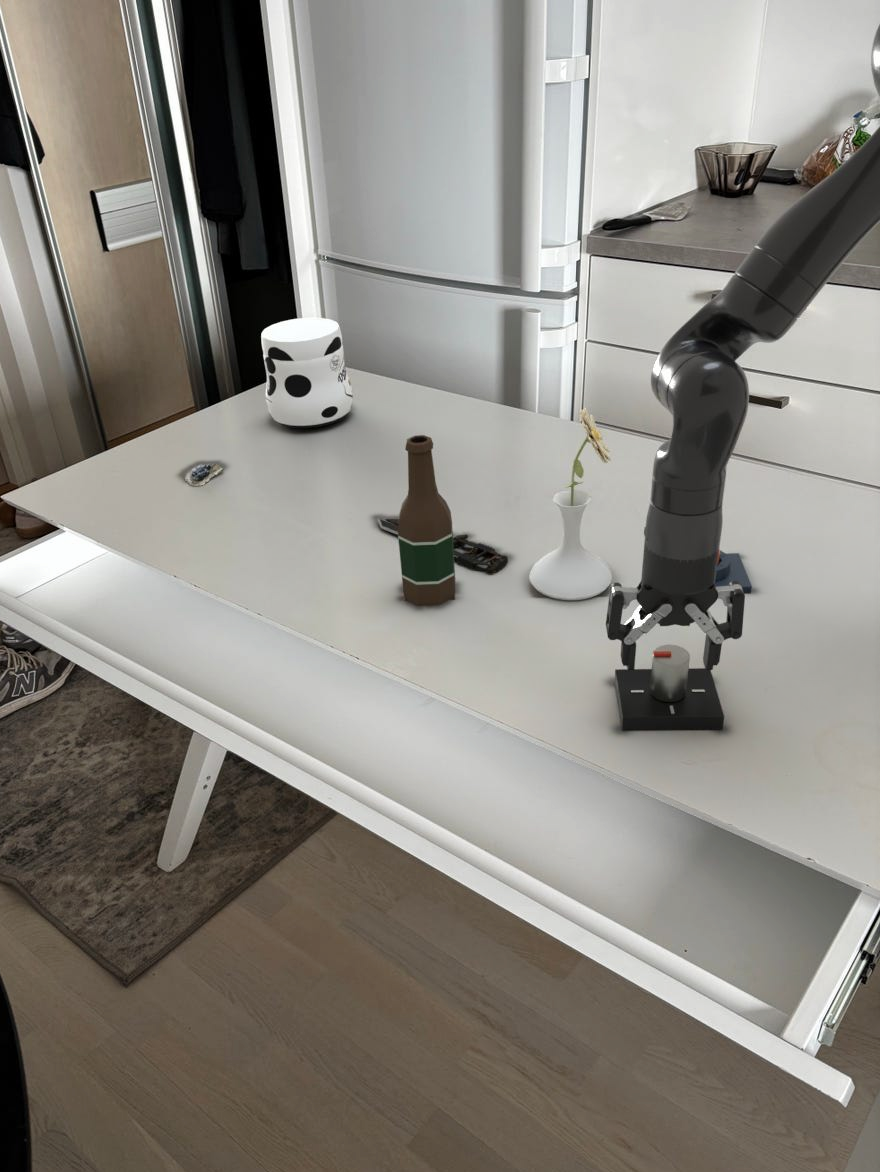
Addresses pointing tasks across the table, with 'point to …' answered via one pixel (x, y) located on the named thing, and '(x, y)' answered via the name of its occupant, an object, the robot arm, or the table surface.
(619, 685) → the hob panel
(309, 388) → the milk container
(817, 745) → the table surface
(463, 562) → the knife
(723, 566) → the button block
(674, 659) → the hob knob
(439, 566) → the beer bottle
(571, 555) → the flower in vase
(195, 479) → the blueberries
